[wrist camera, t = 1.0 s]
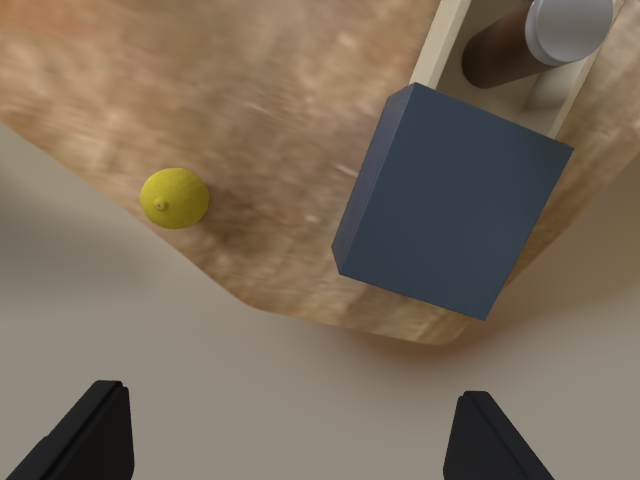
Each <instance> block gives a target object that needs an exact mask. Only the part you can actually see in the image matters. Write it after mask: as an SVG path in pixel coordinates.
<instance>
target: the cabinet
mask: <svg viewBox="0 0 640 480" xmlns="http://www.w3.org/2000/svg"><path fill="white" fill-rule="evenodd" d="M573 150H574V148H573V147H571V146H569V145H566V144H564V143H561V142H559V141H557V140H554V139H552V138H549V137H547V136H545V135H542V134H540V133H537V132H535V131H533V130H530V129H528V128H526V127H523V126H521V125H518V124H516V123H514V122H511V121H509V120H506V119H504V118H502V117H499V116H497V115H494V114H492V113H490V112H487V111H485V110H482V109H480V108H478V107H475V106H473V105H470V104H468V103H466V102H463V101H461V100H458V99H456V98H454V97H451V96H449V95H446V94H444V93H442V92H439V91H437V90H434V89H432V88H430V87H427V86H425V85H422V84H420V83H418V82H414V83H412V84H410V85H408V86H407V87H405V88H403V89H401V90H400V91H398V92H396V93H395V94H393V95H391V96H389V97H388V99H387V101H386V104H385V107H384V109H383V112H382V114H381V117H380V120H379V122H378V125H377V128H376V130H375V133H374V135H373V138H372V141H371V143H370V146H369V149H368V151H367V154H366V157H365V159H364V162H363V164H362V167H361V170H360V172H359V175H358V178H357V180H356V183H355V186H354V188H353V191H352V193H351V196H350V199H349V201H348V204H347V207H346V209H345V212H344V215H343V217H342V220H341V222H340V225H339V228H338V230H337V233H336V236H335V238H334V241H333V244H332V246H331V248H332V251H333V255H334V258H335V261H336V265H337V268H338V271H339V274H340V275H343V276H346V277H349V278H352V279H356V280H359V281H362V282H365V283H368V284H371V285H374V286H377V287H380V288H384V289H387V290H390V291H393V292H396V293H399V294H402V295H405V296H408V297H412V298H415V299H418V300H421V301H424V302H427V303H430V304H433V305H436V306H440V307H443V308H446V309H449V310H452V311H455V312H458V313H461V314H464V315H468V316H471V317H474V318H477V319H480V320H483V321H485V319H486V317H487V315H488V313H489V311H490V309H491V308H492V305H493V303H494V302H495V300H496V298H497V296H498V294H499V292H500V290H501V288H502V286H503V285H504V283H505V281H506V279H507V277H508V275H509V273H510V271H511V269H512V267H513V265H514V263H515V261H516V260H517V258H518V256H519V254H520V252H521V250H522V248H523V246H524V244H525V242H526V240H527V238H528V236H529V235H530V233H531V231H532V229H533V227H534V225H535V223H536V221H537V219H538V217H539V215H540V213H541V211H542V210H543V208H544V206H545V204H546V202H547V200H548V198H549V196H550V194H551V192H552V190H553V188H554V187H555V185H556V183H557V181H558V179H559V177H560V175H561V173H562V171H563V169H564V167H565V165H566V163H567V162H568V160H569V158H570V156H571V154H572V152H573Z"/></svg>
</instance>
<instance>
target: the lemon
mask: <svg viewBox="0 0 640 480" xmlns="http://www.w3.org/2000/svg"><path fill="white" fill-rule="evenodd" d="M140 202H141V207H142V210H143V212H144V213H145V215H146V216H147V217H148V218H149V219H150V220H151V221H152V222H153V223H155V224H156V225H158V226H161V227H164V228H168V229H181V228H186V227H188V226H191V225H193V224H195V223H196V222H197V221H199V220H200V219H201V218H202V217H203V215H204V214H205V213H206V210H207V208H208V205H209V193H208V189H207V187H206V185H205V183H204V182H203V180H202V179H201V178H200V177H199V176H198V175H196V174H195V173H193V172H191V171H189V170H186V169H182V168H167V169H164V170H160V171H158V172H157V173H155V174H153V175H152V176H151V177H150V178H149V179H148V180H147V181H146V182H145V184H144V186H143V188H142V190H141V195H140Z"/></svg>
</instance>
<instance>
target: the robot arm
mask: <svg viewBox="0 0 640 480" xmlns="http://www.w3.org/2000/svg"><path fill="white" fill-rule="evenodd" d="M133 471H134V452H133V438H132V427H131V413H130V401H129V391H128V388H127V387H123V384H122V382H121V381H106V380H98V381H96V382H95V383H94V384H92V386H91V387H90V388H89V389H88V390H87V391H86V392H85V394H84V395H83V396H82V397H81V398H80V399H79V400H78V402H77V403H76V404H75V405H74V406H73V407H72V408H71V410H70V411H69V412H68V413H67V414H66V415H65V416H64V418H63V419H62V420H61V421H60V422H59V423H58V424H57V426H56V427H55V428H54V429H53V430H52V431H51V432H50V434H49V435H48V436H46V437H44V438H43V439H42V440H41V441H40V442H39V443H38V444H37V445H36V446H35V447H34V448H33V449H32V450H31V451H30V453H29V454H28V455H27V456H26V457H25V458H24V459H23V461H22V462H21V463H20V464H19V465H18V466H17V467H16V468H15V470H14V471H13V472H12V473H11V474H10V475H9V476H8V477H7V479H6V480H131V478H132V475H133ZM443 475H444V480H555V479H554V478H553V477H552V476H551V474H550V473H549V472H548V470H547V469H546V468H545V466H544V465H543V464H542V462H541V461H540V460H539V459H538V457H537V456H536V455H535V453H534V452H533V451H532V449H531V448H530V447H529V445H528V444H527V443H526V441H525V440H524V439H523V437H522V436H521V435H520V434H519V432H518V431H517V430H516V428H515V427H514V426H513V425H512V423H511V422H510V420H509V419H508V418H507V416H506V415H505V414H504V413H503V411H502V410H501V409H500V407H499V406H498V405H497V403H496V402H495V401H494V399H493V398H492V397H491V395H490V394H489V393H488V392H485V391H465V392H464V394H463V396H460V397H459V398H458V401H457V406H456V411H455V415H454V420H453V425H452V429H451V434H450V438H449V443H448V448H447V452H446V457H445V462H444V467H443Z"/></svg>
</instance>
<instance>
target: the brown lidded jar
mask: <svg viewBox="0 0 640 480" xmlns="http://www.w3.org/2000/svg"><path fill="white" fill-rule="evenodd" d="M612 17H613V2H612V0H528V1H527V2H525V3H524V4H522V5H521V6H519V7H518V8H516V9H514V10H513V11H511V12H510V13H508V14H507V15H505V16H504V17H502V18H501V19H499V20H497V21H496V22H494V23H493V24H491V25H490V26H488V27H487V28H485V29H484V30H482V31H480V32H479V33H477V34H476V35H475V36H473V37H472V38H471V39H470V41H469V42H468V43H467V45H466V47H465V49H464V52H463V56H462V70H463V73H464V75H465V77H466V79H467V80H468V81H469V82H470V83H471V84H472V85H474V86H475V87H478V88H482V89H488V88H493V87H496V86H499V85H502V84H506V83H509V82H512V81H515V80H518V79H521V78H525V77H528V76H531V75H534V74H537V73H541V72H544V71H547V70H550V69H553V68H557V67H560V66H563V65H566V64H569V63H573V62H576V61H579V60H581V59H584V58H585V57H587V56H589V55H590V54H591V53H593V52H594V51H595V50H596V49H597V48H598V47H599V46H600V44H601V43H602V42H603V40H604V39H605V37H606V35H607V33H608V31H609V29H610V26H611V22H612Z"/></svg>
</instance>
